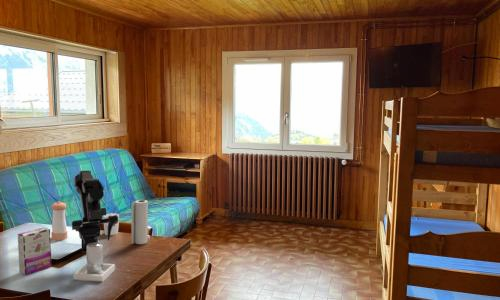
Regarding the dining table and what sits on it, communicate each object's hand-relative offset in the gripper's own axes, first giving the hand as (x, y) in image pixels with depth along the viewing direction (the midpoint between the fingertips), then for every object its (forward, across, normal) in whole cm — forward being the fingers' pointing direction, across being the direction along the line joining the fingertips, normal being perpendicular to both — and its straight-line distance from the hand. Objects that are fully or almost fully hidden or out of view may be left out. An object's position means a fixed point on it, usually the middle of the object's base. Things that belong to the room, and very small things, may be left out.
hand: (97, 242), depth 170 cm
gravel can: (+13, -2, -5) cm, 15 cm away
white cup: (-10, +10, +41) cm, 43 cm away
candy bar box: (+6, -24, +7) cm, 26 cm away
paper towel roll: (0, +22, +24) cm, 32 cm away
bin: (+14, -2, -5) cm, 15 cm away
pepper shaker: (-12, -15, +41) cm, 45 cm away
